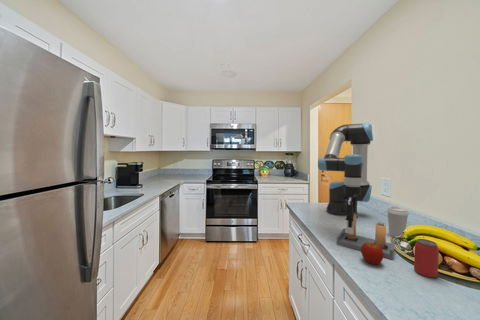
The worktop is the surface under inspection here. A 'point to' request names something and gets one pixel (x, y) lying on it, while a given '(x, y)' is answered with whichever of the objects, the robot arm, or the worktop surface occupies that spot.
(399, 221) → the coffee cup
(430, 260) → the beer can
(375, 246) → the apple
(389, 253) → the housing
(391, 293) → the worktop surface
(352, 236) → the peg
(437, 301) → the worktop surface
